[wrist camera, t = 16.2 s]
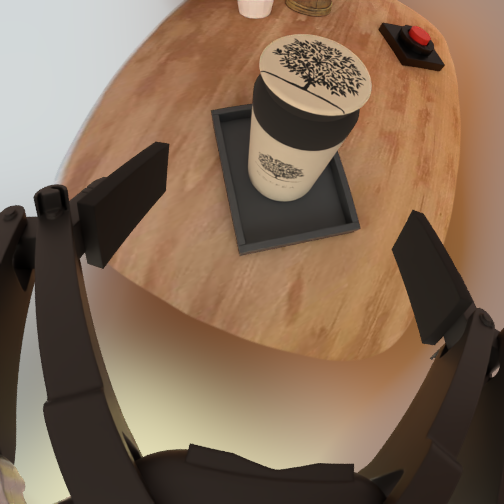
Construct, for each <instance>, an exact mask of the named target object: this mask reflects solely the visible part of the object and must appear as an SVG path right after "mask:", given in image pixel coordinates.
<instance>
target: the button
mask: <svg viewBox="0 0 504 504" xmlns="http://www.w3.org/2000/svg"><path fill="white" fill-rule="evenodd" d="M409 35H410V37H411V38H412V39H414V40H415V41H416V42H418V43H419V44H421V45H424V46H426V45H427V44H428V42H429V41H430V40H431V38H430V36H429V34H428V33H427V32H426V31H424V30H423V29H421V28H420V27H417V26H412V28H411V29H410V31H409Z"/></svg>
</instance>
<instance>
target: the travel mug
mask: <svg viewBox="0 0 504 504" xmlns="http://www.w3.org/2000/svg"><path fill="white" fill-rule="evenodd" d="M259 68H260V73H261V74H260V75H259V76H258V78H257V79H256V82H255V85H254V90H253V103H252V117H251V131H250V145H249V159H248V174H249V178H250V180H251V182H252V184H253V186H254V187H255V188H256V189H257V190H258V191H259V192H260V193H261V194H262V195H264V196H266V197H267V198H270V199H272V200H276V201H293V200H296V199H298V198H301V197H302V196H304V195H305V194H306V193H307V192H308V191H309V190H310V189H311V187H312V186H313V185H314V183H315V182H316V180H317V179H318V177H319V176H320V175H321V173H322V172H323V170H324V169H325V167H326V166H327V165H328V163H329V162H330V160H331V159H332V157H333V156H334V155H335V153H336V152H337V150H338V149H339V147H340V146H341V145H342V143H343V142H344V140H345V139H346V137H347V136H348V135H349V133H350V132H351V130H352V129H353V127H354V126H355V124H356V123H357V120H358V117H359V110H360V109H359V108H361V107H362V106H363V105H364V104H365V103H366V102H367V100H368V99H369V97H370V94H371V89H372V84H371V78H370V75H369V73H368V70H367V69H366V67H365V65H364V64H363V63H362V61H361V60H360V59H359V58H358V57H357V56H356V55H355V54H354V53H353V52H351V51H350V50H349V49H347V48H346V47H344V46H343V45H341V44H339V43H337V42H335V41H333V40H330V39H327V38H324V37H320V36H316V35H309V34H295V35H289V36H285V37H282V38H279V39H277V40H275V41H273V42H272V43H270V44H269V45H268V46H267V47H266V48H265V49H264V51H263V52H262V55H261V57H260V62H259Z"/></svg>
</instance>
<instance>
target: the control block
mask: <svg viewBox="0 0 504 504" xmlns="http://www.w3.org/2000/svg"><path fill="white" fill-rule="evenodd" d="M411 28H412V26H409V25H405V26H398V25H393V24H388V23H382V24H381V26H380V28H379V31H380V32H381V34H382V35H383V36H384V38H385V39H386V41H387V42H388V44H389V45H390V47H391V48H392V50H393V51H394V53H395V54H396V56H397V58H398V59H399V61H400V62H401V64H402V65H405V66H412V67H418V68H424V69H430V70H435V71H440V70H441V69H442V68H443V67H444V66H445V65H444V63H443V62H442V60H441V59H440V57H439V56H438V54H437V53H436V51H435V50H434V44H433V42H432V41H431V40H430V41H429V42H428V44H427V45H426V46H424V45H421V44H419V43H418V42H416V41H415V40H414V39H412V38H411V37H410V35H409V31H410V29H411Z"/></svg>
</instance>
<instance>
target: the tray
mask: <svg viewBox="0 0 504 504" xmlns="http://www.w3.org/2000/svg"><path fill="white" fill-rule="evenodd" d="M211 113H212V120H213V125H214V130H215V135H216V140H217V146H218V151H219V156H220V161H221V166H222V171H223V176H224V181H225V186H226V191H227V196H228V201H229V206H230V210H231V215H232V220H233V225H234V230H235V235H236V240H237V244H238V249H239V254H240V256H241V255H246V254H251V253H256V252H260V251H265V250H270V249H275V248H280V247H285V246H289V245H294V244H299V243H304V242H309V241H313V240H318V239H323V238H328V237H333V236H337V235H342V234H347V233H352V232H354V231H356V230H358V229H360V224H359V222H358V221H359V220H358V217H357V213H356V209H355V206H354V202H353V199H352V195H351V192H350V188H349V185H348V182H347V178H346V175H345V172H344V169H343V166H342V163H341V160H340V157H339V154H338V151H337V152H336V153H335V155H334V156H333V157H332V159H331V160H330V162H329V163H328V165H327V166H326V167H325V169H324V170H323V172H322V173H321V175H320V176H319V177H318V179H317V180H316V182H315V183H314V185H313V186H312V187H311V189H310V190H309V191H308V192H307V193H306V194H305V195H304V196H302V197H301V198H298V199H296V200H293V201H276V200H272V199H270V198H267V197H266V196H264V195H262V194H261V193H260V192H259V191H258V190H257V189H256V188H255V187H254V186H253V184H252V182H251V180H250V178H249V174H248V159H249V145H250V131H251V117H252V104H247V105H240V106H234V107H228V108H222V109H217V110H211Z"/></svg>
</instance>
